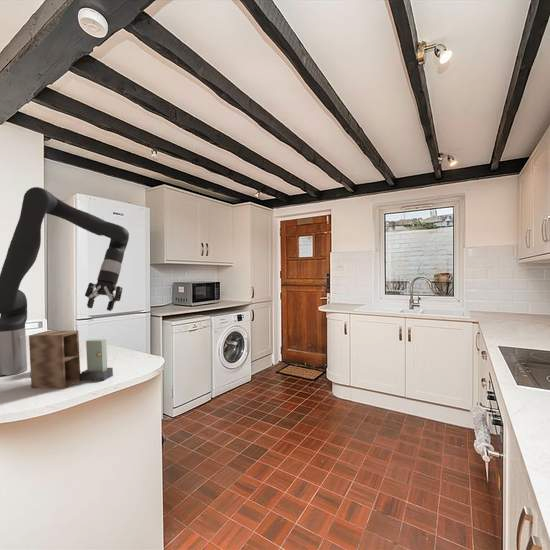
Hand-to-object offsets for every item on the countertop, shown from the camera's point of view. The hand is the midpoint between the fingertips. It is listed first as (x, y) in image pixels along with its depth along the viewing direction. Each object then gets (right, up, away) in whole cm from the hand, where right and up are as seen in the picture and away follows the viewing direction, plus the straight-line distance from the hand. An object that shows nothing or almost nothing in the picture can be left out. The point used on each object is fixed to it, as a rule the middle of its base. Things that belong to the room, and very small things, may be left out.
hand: (99, 309), depth 127 cm
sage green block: (+8, -24, -14) cm, 29 cm away
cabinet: (-4, -24, -19) cm, 31 cm away
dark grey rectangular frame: (+8, -24, -15) cm, 29 cm away
